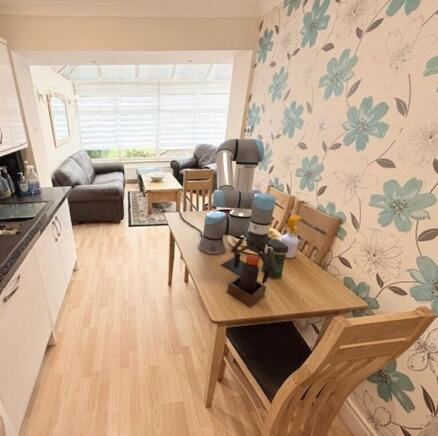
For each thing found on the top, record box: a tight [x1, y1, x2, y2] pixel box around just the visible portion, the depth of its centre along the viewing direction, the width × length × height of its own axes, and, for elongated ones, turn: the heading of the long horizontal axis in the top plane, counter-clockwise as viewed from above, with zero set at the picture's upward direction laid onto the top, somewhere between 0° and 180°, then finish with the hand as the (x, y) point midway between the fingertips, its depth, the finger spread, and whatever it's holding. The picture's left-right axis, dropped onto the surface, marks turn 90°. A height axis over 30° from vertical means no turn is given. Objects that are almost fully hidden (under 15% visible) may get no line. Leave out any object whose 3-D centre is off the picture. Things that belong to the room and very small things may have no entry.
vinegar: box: [239, 254, 260, 295], centre depth 106 cm, size 7×7×20 cm
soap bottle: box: [279, 214, 302, 259], centre depth 136 cm, size 9×9×25 cm
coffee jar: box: [261, 238, 288, 279], centre depth 121 cm, size 10×8×19 cm
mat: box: [221, 257, 246, 276], centre depth 130 cm, size 12×12×1 cm
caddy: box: [226, 275, 267, 308], centre depth 109 cm, size 12×12×6 cm
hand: (249, 274), depth 105 cm, fingers open, 13 cm apart
